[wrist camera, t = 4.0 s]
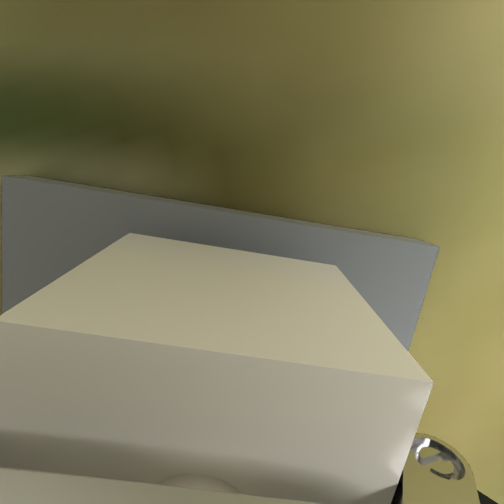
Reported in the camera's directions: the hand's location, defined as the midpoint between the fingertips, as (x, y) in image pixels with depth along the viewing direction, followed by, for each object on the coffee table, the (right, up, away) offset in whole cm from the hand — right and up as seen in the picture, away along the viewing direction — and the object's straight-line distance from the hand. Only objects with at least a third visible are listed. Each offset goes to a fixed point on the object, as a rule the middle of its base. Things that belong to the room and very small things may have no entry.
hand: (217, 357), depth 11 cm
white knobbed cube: (0, 0, +1) cm, 1 cm away
